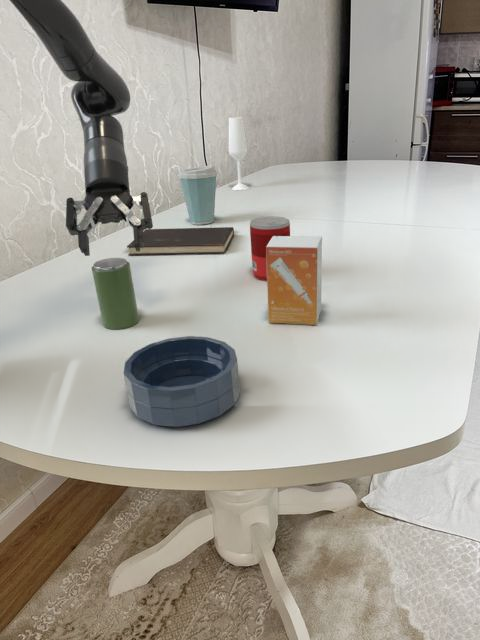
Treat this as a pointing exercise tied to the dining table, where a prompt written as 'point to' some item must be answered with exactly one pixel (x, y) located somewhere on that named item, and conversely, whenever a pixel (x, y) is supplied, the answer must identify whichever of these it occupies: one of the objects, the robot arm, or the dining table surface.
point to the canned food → (265, 240)
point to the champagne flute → (237, 146)
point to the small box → (294, 279)
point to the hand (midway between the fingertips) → (112, 251)
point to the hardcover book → (184, 241)
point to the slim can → (115, 293)
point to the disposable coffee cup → (199, 193)
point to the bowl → (182, 380)
